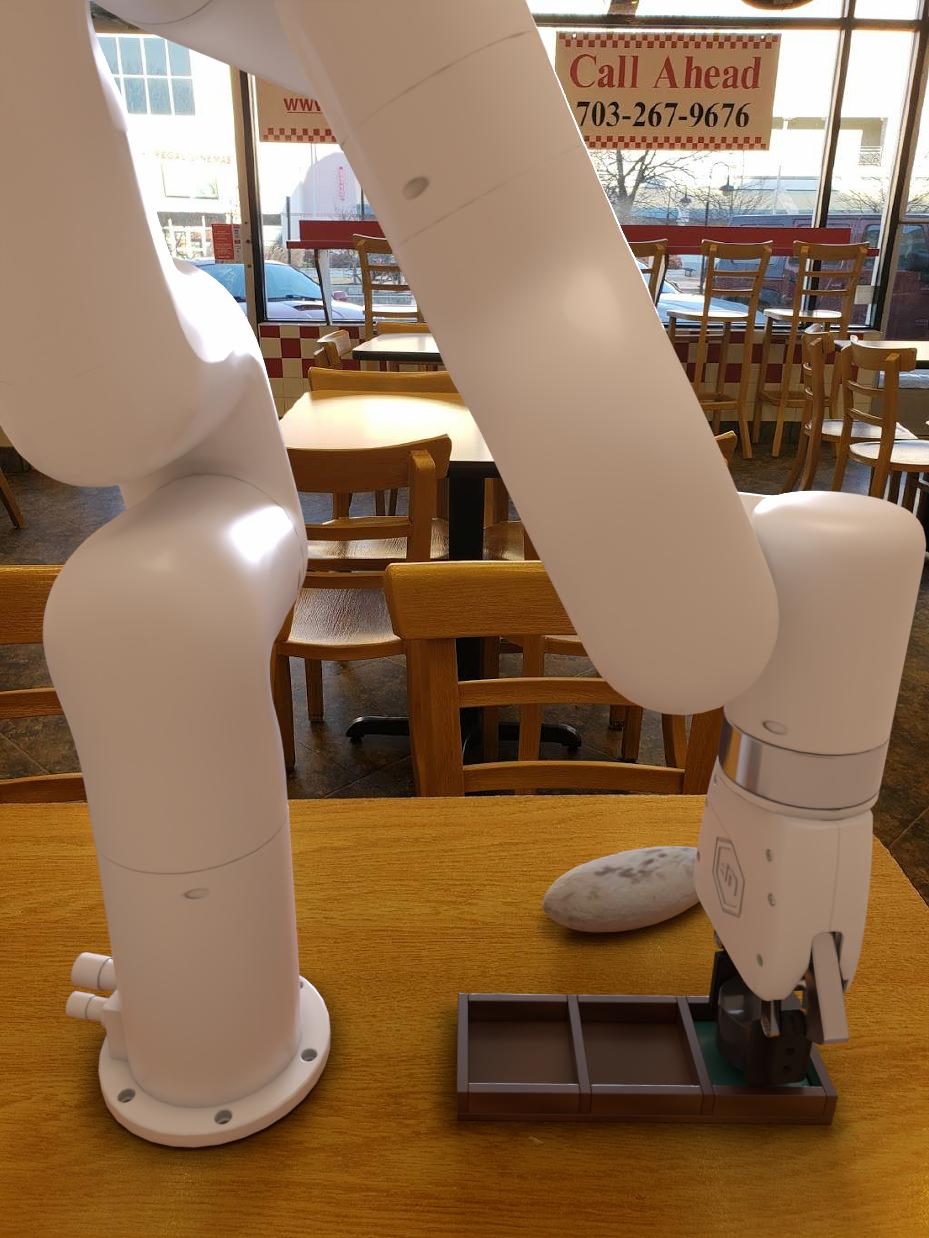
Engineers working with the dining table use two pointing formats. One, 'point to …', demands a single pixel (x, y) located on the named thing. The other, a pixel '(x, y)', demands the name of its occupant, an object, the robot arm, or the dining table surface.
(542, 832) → the dining table surface
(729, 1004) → the dark gray cylinder
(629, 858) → the decorative stone
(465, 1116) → the divided tray
